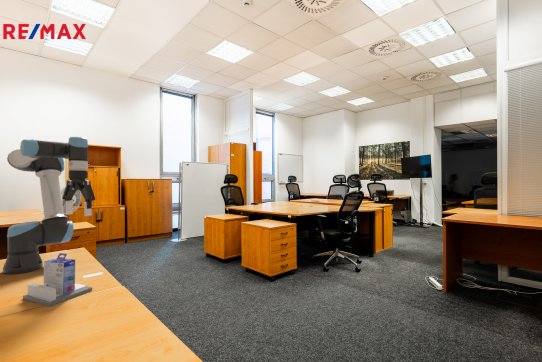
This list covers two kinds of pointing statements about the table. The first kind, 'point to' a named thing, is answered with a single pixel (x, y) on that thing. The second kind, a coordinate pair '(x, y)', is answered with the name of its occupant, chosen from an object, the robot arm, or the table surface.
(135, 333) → the table surface
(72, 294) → the dock board
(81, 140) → the robot arm
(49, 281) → the ink cartridge box
